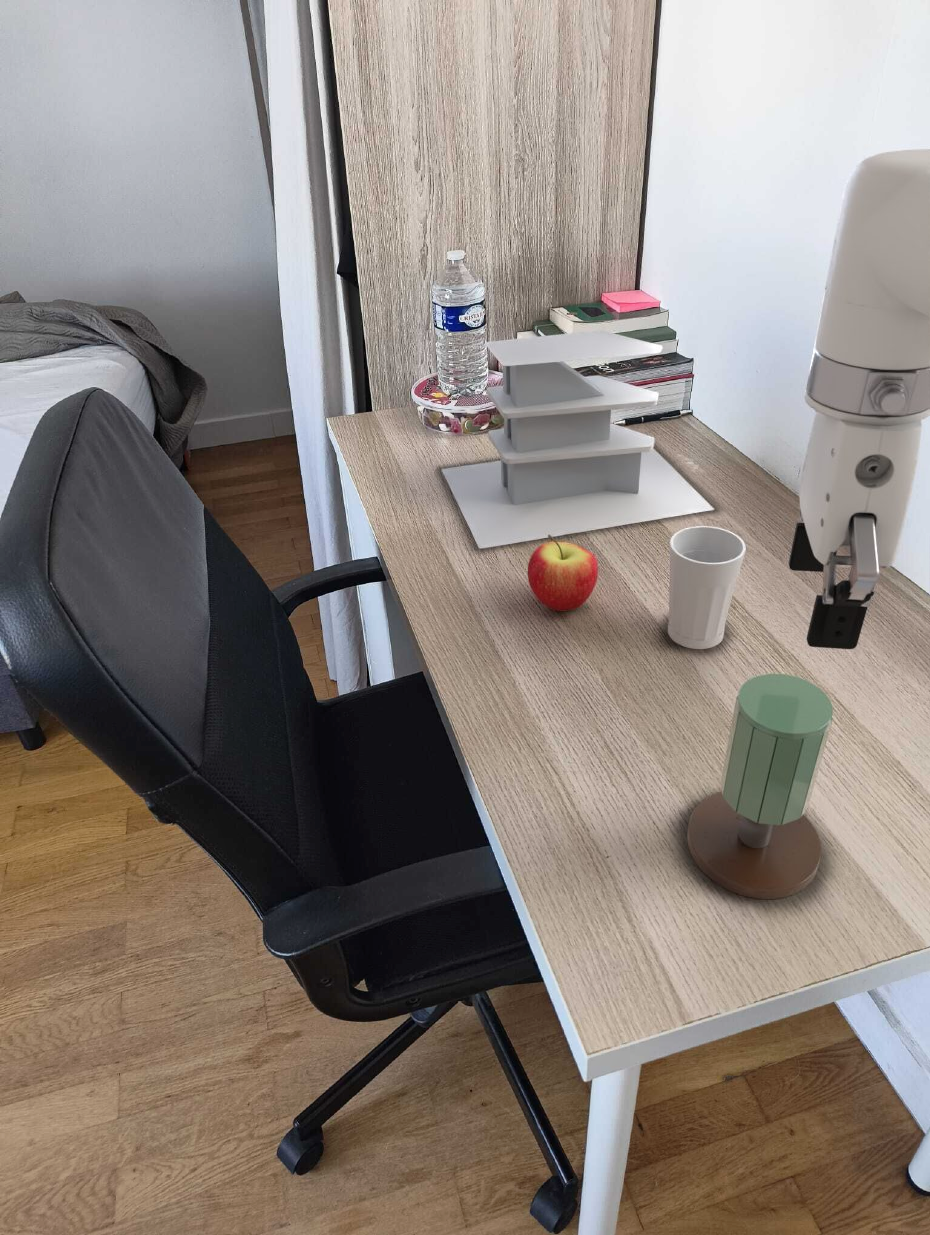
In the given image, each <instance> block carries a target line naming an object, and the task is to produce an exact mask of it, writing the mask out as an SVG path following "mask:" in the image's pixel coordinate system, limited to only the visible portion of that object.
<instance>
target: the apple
mask: <svg viewBox="0 0 930 1235" xmlns="http://www.w3.org/2000/svg"><path fill="white" fill-rule="evenodd" d="M548 538H549V539H551V540H552V541H549V542H545V543H543V544H540V545H539V546H538V547H537V548H536V549H535V550H534V551H533V552H532V554H531V556H530V558H529V560H528V565H527V580H528V583H529V586H530V589H531V591H532V593H533V595H534V597H536V599H537V600H538V601H539V602H540V603H541V604H542V605H544V606H545V607H546V608H548V609H551V610H553V611H558V612H566V611H572V610H575V609H579V607H581V606H582V605H584V604H585V603H586V601H587V600H588V599H589V597H590V596H591V594H592V593H593V591H594V589H595V587H596V583H597V581H598V576H599V565H598V561H597V560H598V559H597V558H596V557H595V555H594V554H593V553H592V552H590V551H589V550H588V549H585V548H584V547H581V546H579V545H577V544H575V543H570V542H566V541H557V540H556V539H555V538H554V537H552V536H551V535H548Z"/></svg>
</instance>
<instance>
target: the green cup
mask: <svg viewBox="0 0 930 1235" xmlns="http://www.w3.org/2000/svg"><path fill="white" fill-rule="evenodd" d="M833 715H834V707H833V704H832V702H831V699H830V697H829V696H828V695H827V693H826V692H824V691H823V690H822V689H821V688H820V687H818V686H817V685H816V684H814V683H812V682H810V681H809V680H807V679H804V678H802V677H799V676H796V675H791V674H787V673H773V672H772V673H764V674H759V675H756V676H752V677H751V678H749V679H747V681H745V682H743V684H742V685H741V687H740V688H739V691H738V693H737V696H736V698H735V702H734V709H733V714H732V718H731V719H732V721H731V724H730V729H729V736H728V741H727V747H726V750H725V751H726V752H725V757H724V763H723V769H722V773H721V779H720V785H721V791H722V795H723V798H724V799H725V800H726V801H727V803H728V804H729V805H730V806H731V807H732V809H733V810H734V811H735V812H737V813H738V814H740V815H742V816H744V817H746V818H748V819H750V820H752V821H754V822H756V823H757V822H758V823H760V824H771V825H781V824H782V825H784V824H786V823H789V822H792V821H794V820H797V819H799V818H801V817H802V815H804V813H805V812H806V810H807V808H808V807H809V806H810V802H811V799H812V794H813V792H814V787H815V784H816V780H817V777H818V773H819V770H820V766H821V763H822V759H823V756H824V752H825V748H826V745H827V743H828V742H827V741H828V738H829V734H830V731H831V727H832V724H833V720H834V718H833Z"/></svg>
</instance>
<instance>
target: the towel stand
mask: <svg viewBox="0 0 930 1235" xmlns="http://www.w3.org/2000/svg"><path fill="white" fill-rule="evenodd" d="M688 821H689V822H688V825H687V833H686V834H687V835H686V838H687V845H688V846H687V847H688V849H689V852H690V854H691V856H692V858H693V860H694V862H695V864H696V865H697V866H698V867H699V869H700V870H701V871H702V873H704V875H706V876H707V877H708V878H710V880H712V881H713V882H714V883H716V884H717V885H718V886H720V887H721V888H724V889H725V890H727V891H730V892H732V893H735V894H738V895H740V896H744V897H747V898H751V899H758V900H777V899H782V898H787V897H790V896H794V895H795V894H797V893H799V892H801V891H802V890H804V889H806V887H808V886H809V885H810V884H811V883H812V881H813V880H814V878H815V877H816V876H817V875H816V874H817V872H818V870H819V866H820V863H821V858H822V845H821V840H820V837H819V834H818V832H817V830H816V829H815V827H814V825H813V824H812V822H811V821H810V820H809V819H808V817H807V816H806V815H805V814H803V815H802V817H801V818H799V819H797V820H794V821H792V822H789V823H786V824H784V825H782V824H781V825H771V824H760V823H758V822H757V823H756V822H754V821H752V820H750V819H748V818H746V817H744V816H742V815H740V814H738V813H737V812H735V811H734V810H733V809H732V807H731V806H730V805H729V804H728V803H727V801H726V800H725V799H724V798H723V795H722V790H721V791H719V792H716V793H713V794H711V795H709V796H707V797H706V798H704V799H702V800H701V801H700V802H699V803H698V804H697V805H696V806H695V808H694V809H693V811H692V813H691V815H690V817H689V820H688Z"/></svg>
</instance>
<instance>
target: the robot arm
mask: <svg viewBox="0 0 930 1235" xmlns="http://www.w3.org/2000/svg"><path fill="white" fill-rule="evenodd" d="M823 292H824V293H823V299H822V303H821V309H820V313H819V319H818V324H817V329H816V334H815V339H814V340H815V341H814V346H813V352H812V357H811V361H810V366H809V372H808V378H807V383H806V387H805V391H804V401H805V404H807V406H808V407H809V408H811V409H813V410H814V411H815V414H814V418H813V421H812V427H811V430H810V434H809V439H808V443H807V448H806V453H805V456H804V462H803V466H802V473H801V478H800V486H799V499H798V500H799V513H798V515H799V516H798V518H799V521H800V522H796V526H795V530H794V535H793V539H792V545H791V550H790V554H789V559H788V566H789V569H790V570H791V571H795V572H814V573H815V572H816V573H822V590H821V594H816V596H815V600H814V605H813V608H812V613H811V616H810V622H809V626H808V630H807V634H806V642H807V645H808V646H809V647H811V648H822V649H838V650H854V649H856V648H857V646H858V643H859V639H860V635H861V632H862V629H863V625H864V621H865V618H866V615H867V611H868V608H869V607H870V604H871V602H872V597H873V596H874V594H875V591H873V590H874V589H875V587H876V584H878V581H879V577H880V568H879V567H881V568H883V569H889V568H890V567H891V566H893V565H894V563H895V562H896V560H897V555H898V551H899V549H900V548H899V547H900V544H901V539H902V535H903V533H904V532H903V531H904V527H905V522H906V520H907V519H906V518H907V514H908V510H909V505H910V501H911V496H912V493H913V487H914V482H915V476H916V472H917V467H918V466H917V465H918V460H919V453H920V448H921V438H922V428H923V424H922V420H925V419H927V418H928V417H930V149H927V148H926V149H925V148H924V149H923V148H920V149H918V148H917V149H903V150H895V151H894V150H892V151H886V152H881V153H877V154H874V155H872V156H868V157H866V158H864V159H863V160H862V161H861V162H859V163H858V164H857V165H856V166H855V167H854V168H853V169H852V171H851V172H850V174H849V176H848V178H847V180H846V183H845V186H844V190H843V194H842V198H841V203H840V208H839V214H838V219H837V224H836V229H835V234H834V241H833V245H832V250H831V256H830V261H829V266H828V272H827V276H826V281H825V287H824V291H823ZM838 549H849V552H850V555H838V554H837V552H838ZM837 568H850V571H849V574H848V576H847V577H848V579H847V580H846V579H845V580H844V579H842V580H840V581H839V582H838V583H837V584H836V582H837V581H836V580H837Z"/></svg>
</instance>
